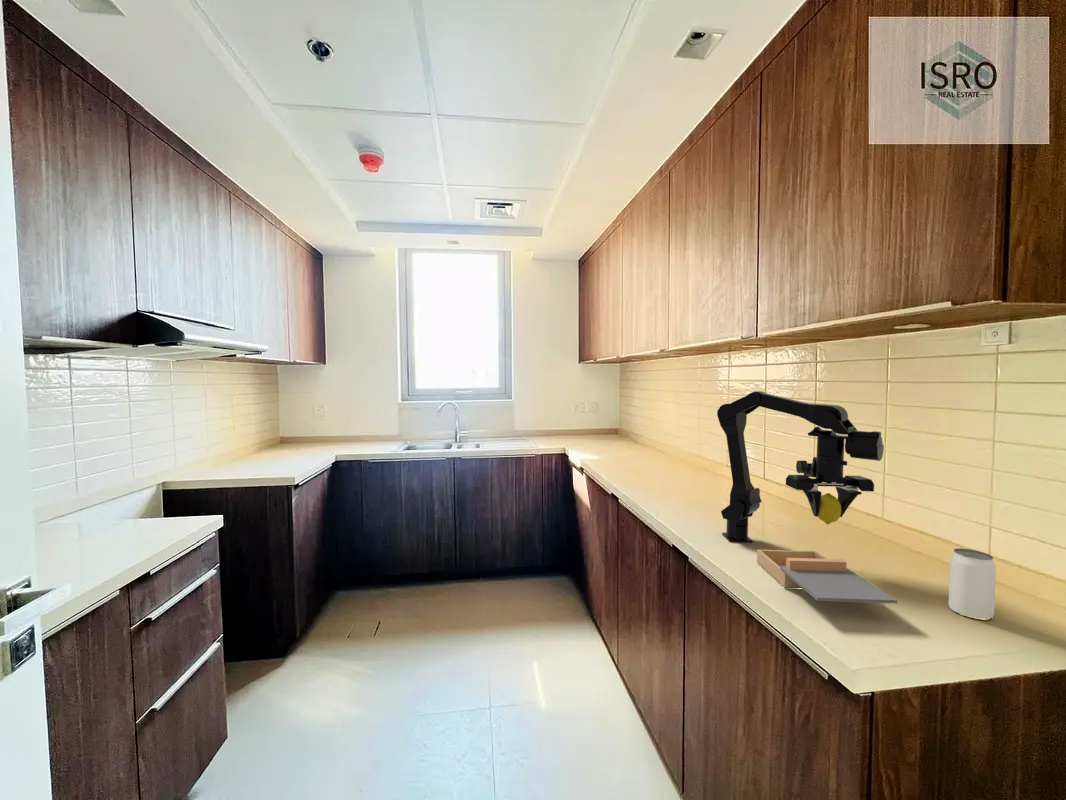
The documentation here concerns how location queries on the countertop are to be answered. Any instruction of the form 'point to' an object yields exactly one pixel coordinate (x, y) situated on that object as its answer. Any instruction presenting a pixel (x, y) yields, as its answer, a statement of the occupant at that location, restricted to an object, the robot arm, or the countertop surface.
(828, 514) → the lemon
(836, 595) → the lid
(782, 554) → the box
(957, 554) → the can
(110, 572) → the countertop surface
